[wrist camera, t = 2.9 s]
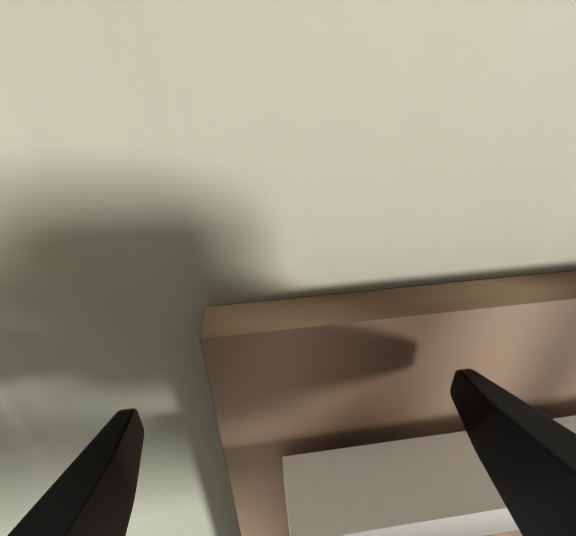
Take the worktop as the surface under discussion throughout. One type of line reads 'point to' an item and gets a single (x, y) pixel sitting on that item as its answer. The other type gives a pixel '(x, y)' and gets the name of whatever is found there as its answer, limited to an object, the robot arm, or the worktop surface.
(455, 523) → the dial needle
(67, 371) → the worktop surface
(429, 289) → the board
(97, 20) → the worktop surface
